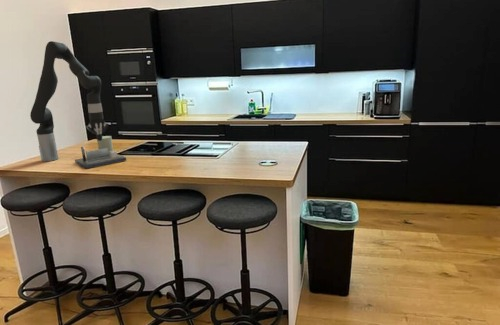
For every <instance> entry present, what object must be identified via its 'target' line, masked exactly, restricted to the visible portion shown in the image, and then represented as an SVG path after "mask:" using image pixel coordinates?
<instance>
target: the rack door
mask: <svg viewBox="0 0 500 325" xmlns="http://www.w3.org/2000/svg"><path fill="white" fill-rule="evenodd" d="M107 155H109V154H108V148H104V149H99V148H98V149H94V150H89V151H85V157H86V158H87V159H91V158H96V157H101V156H107Z"/></svg>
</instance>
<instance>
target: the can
mask: <svg viewBox="0 0 500 325" xmlns="http://www.w3.org/2000/svg"><path fill="white" fill-rule="evenodd" d="M96 141H97V146H98V149H104V148H108V153H109V152H110V151H114V147H113V138H112V135H105V136H104V135H102V139H101V141H98V140H97V139H96Z"/></svg>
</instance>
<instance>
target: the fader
mask: <svg viewBox="0 0 500 325" xmlns="http://www.w3.org/2000/svg"><path fill="white" fill-rule="evenodd" d="M109 153H110V158H113V157H117V154H118V153H117V151H116V150H113V151H110V152H109Z"/></svg>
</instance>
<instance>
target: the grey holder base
mask: <svg viewBox="0 0 500 325" xmlns="http://www.w3.org/2000/svg"><path fill="white" fill-rule="evenodd" d="M80 148H81V154H82V158H78V159H75V160H74V162H75V164H77V165H79V166H80V167H82V168H83V169H85V170H89V169H92V168H97V167H102V166H107V165H111V164H113V165H114V164H116V163H121V162H126V161H127V157H126V156H124V155H121V154H118V153H117V157H113V158H110V153H108V154H109V155H107V156H101V157H96V158H91V159H87V157H86V151H85V146H81V147H80Z"/></svg>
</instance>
